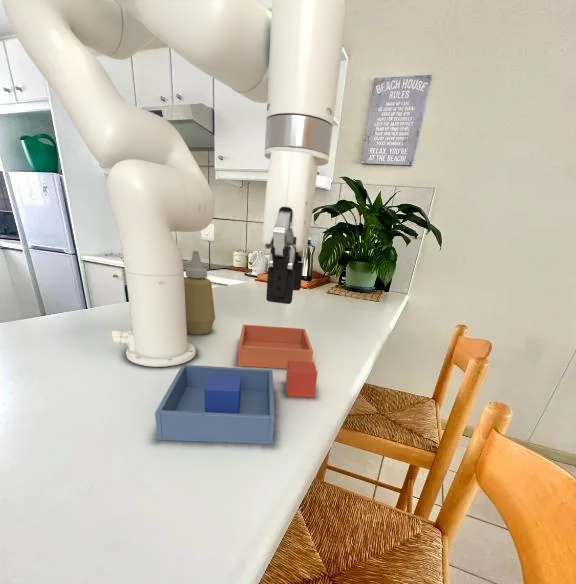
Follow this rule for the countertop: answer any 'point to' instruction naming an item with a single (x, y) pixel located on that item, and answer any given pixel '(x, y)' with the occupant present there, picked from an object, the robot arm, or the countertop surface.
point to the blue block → (223, 394)
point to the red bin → (273, 346)
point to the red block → (301, 379)
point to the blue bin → (217, 426)
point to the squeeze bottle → (198, 298)
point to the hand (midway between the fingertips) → (284, 295)
